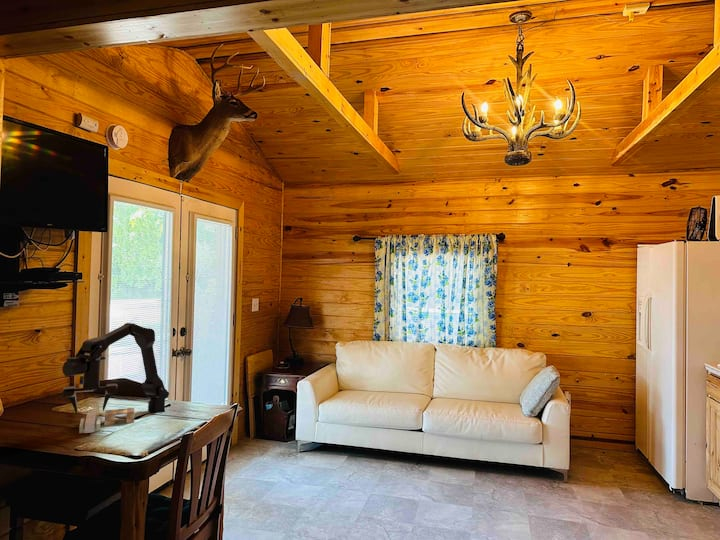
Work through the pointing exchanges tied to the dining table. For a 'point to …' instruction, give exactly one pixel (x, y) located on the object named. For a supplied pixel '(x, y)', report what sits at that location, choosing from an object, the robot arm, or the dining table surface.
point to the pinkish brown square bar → (90, 422)
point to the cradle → (82, 425)
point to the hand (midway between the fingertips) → (90, 411)
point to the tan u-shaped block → (111, 414)
